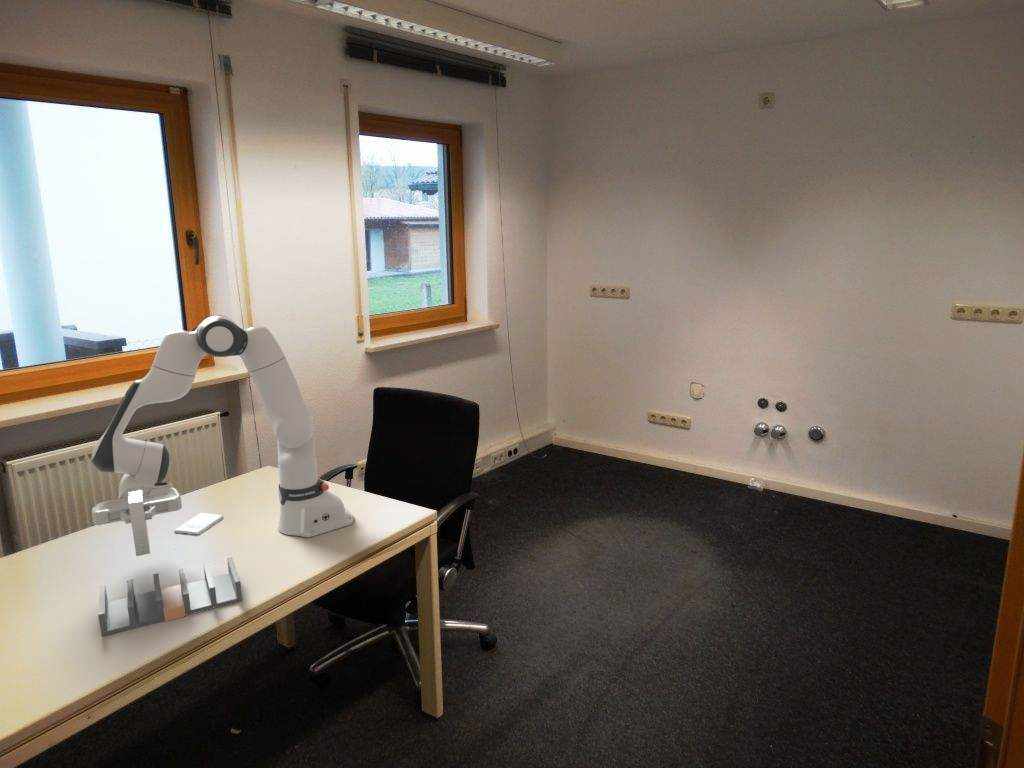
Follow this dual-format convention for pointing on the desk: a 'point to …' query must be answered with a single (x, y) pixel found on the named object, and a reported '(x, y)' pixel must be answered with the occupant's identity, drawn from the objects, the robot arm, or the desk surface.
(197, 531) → the external hard drive
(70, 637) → the desk surface
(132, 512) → the panel
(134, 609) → the rack
